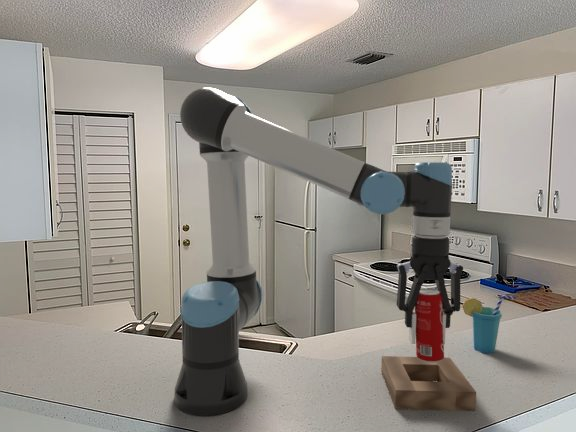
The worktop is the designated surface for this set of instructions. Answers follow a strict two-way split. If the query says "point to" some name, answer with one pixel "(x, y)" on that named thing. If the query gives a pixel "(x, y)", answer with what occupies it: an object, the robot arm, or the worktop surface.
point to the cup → (484, 323)
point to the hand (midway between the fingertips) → (426, 341)
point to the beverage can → (429, 326)
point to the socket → (427, 384)
